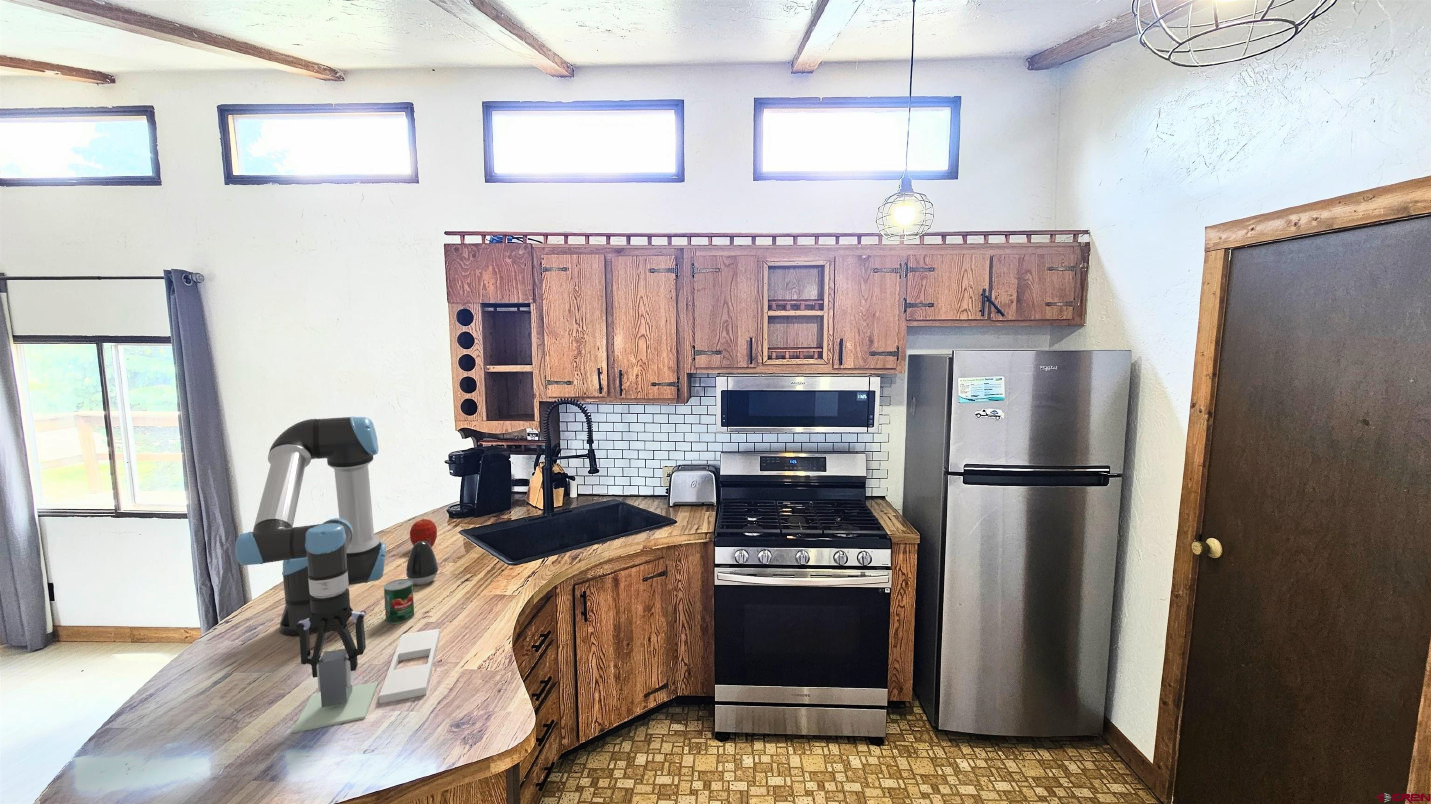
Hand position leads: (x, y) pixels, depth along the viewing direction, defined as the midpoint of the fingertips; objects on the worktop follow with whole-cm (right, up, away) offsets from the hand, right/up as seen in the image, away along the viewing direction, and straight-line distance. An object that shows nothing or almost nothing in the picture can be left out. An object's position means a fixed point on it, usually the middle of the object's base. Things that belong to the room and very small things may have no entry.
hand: (336, 685), depth 132 cm
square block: (0, -3, 0) cm, 3 cm away
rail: (+9, -3, +17) cm, 20 cm away
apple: (-32, +5, +101) cm, 106 cm away
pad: (0, -5, +1) cm, 5 cm away
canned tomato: (-10, -1, +44) cm, 45 cm away
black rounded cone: (-16, +2, +70) cm, 72 cm away
